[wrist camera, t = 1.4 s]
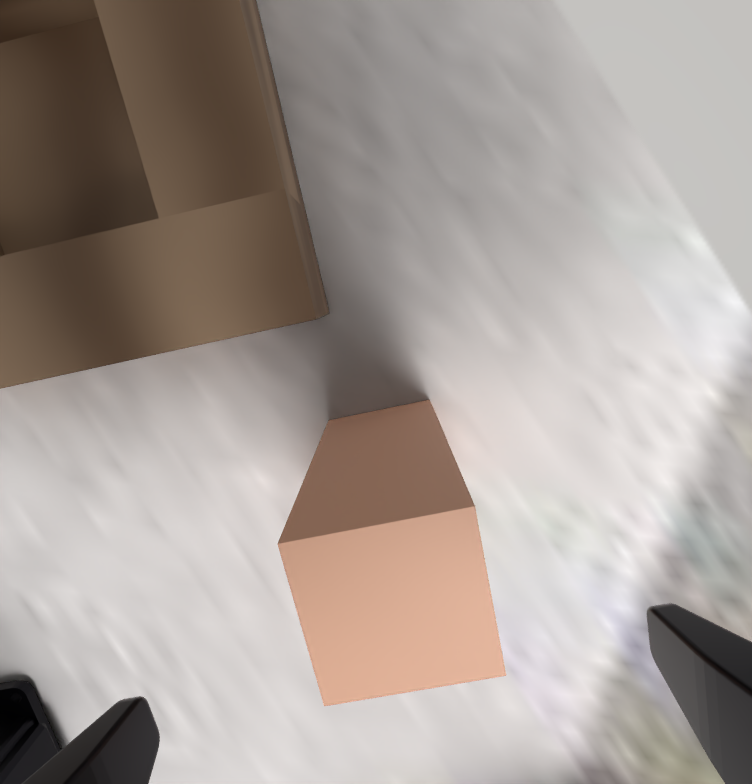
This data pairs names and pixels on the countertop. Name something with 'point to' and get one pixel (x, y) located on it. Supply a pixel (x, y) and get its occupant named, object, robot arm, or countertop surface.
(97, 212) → the walnut socket block
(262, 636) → the countertop surface
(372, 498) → the terracotta peg
